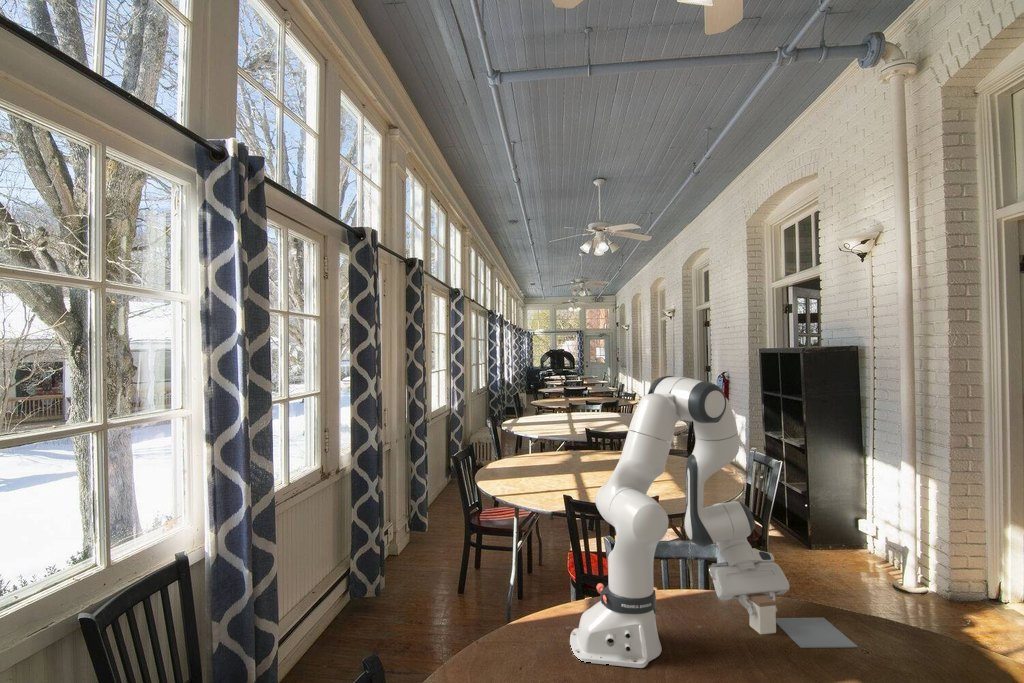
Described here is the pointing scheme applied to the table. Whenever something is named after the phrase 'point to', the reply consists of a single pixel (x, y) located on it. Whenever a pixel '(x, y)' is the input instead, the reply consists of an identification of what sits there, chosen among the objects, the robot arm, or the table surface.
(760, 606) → the cream block
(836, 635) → the slate mat
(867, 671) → the table surface
